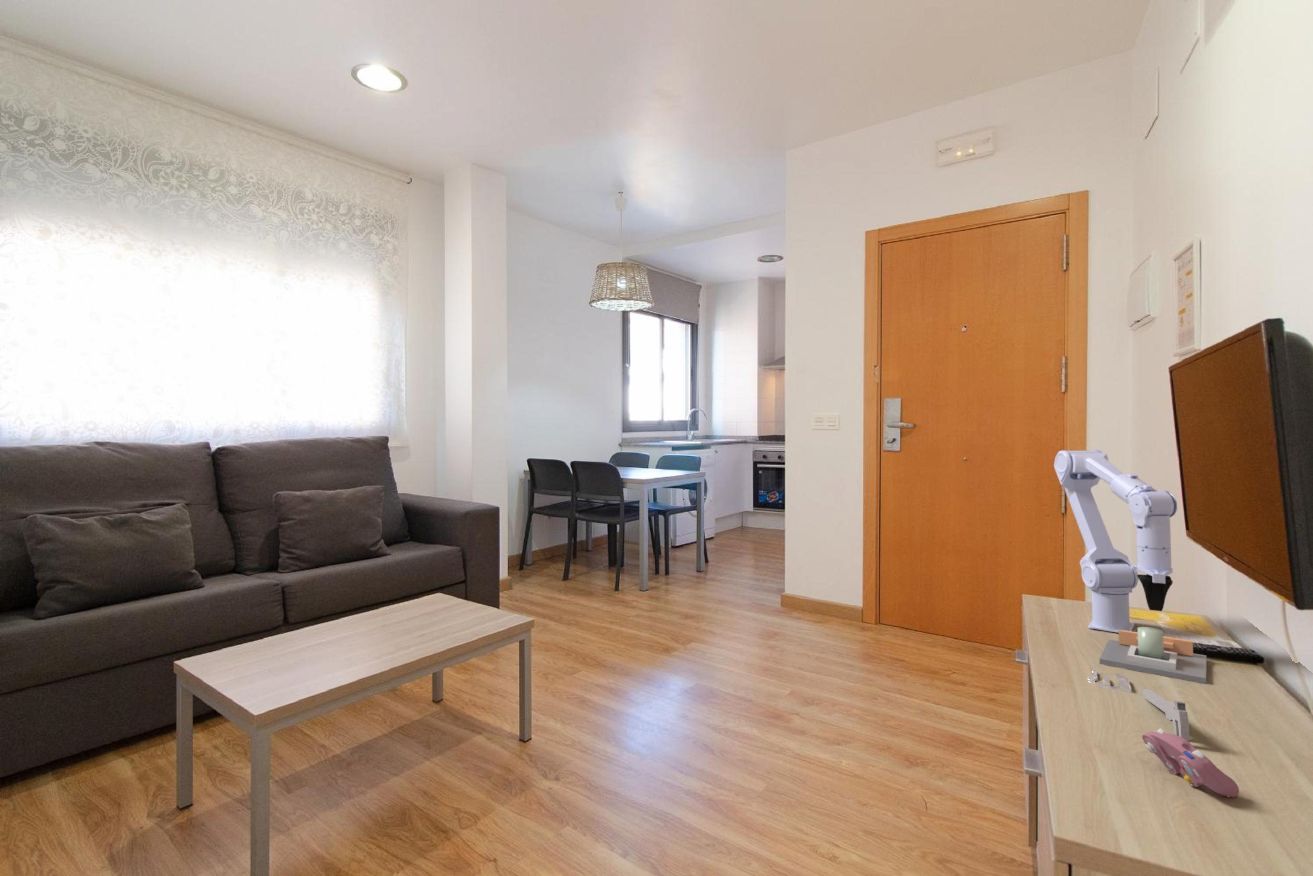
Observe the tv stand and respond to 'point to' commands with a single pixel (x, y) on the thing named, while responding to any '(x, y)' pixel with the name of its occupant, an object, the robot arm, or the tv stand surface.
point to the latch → (1169, 643)
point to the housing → (1156, 662)
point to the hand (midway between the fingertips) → (1155, 609)
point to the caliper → (1171, 712)
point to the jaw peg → (1150, 643)
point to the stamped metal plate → (1122, 681)
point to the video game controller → (1189, 762)
